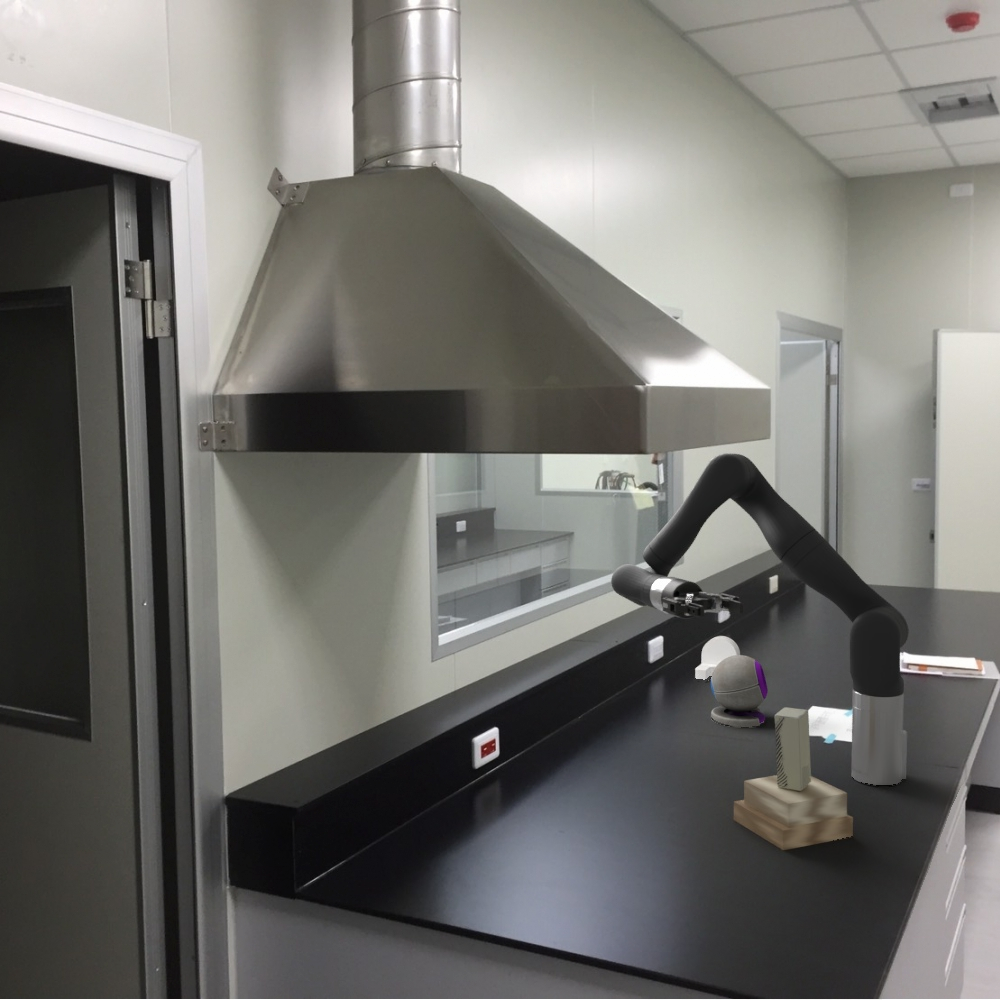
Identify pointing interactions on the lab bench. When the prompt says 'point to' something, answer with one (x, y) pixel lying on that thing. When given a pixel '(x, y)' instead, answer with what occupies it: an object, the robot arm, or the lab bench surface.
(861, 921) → the lab bench surface
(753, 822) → the bottom slab
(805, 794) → the top slab
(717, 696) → the shader ball
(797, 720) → the box
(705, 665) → the tape dispenser
